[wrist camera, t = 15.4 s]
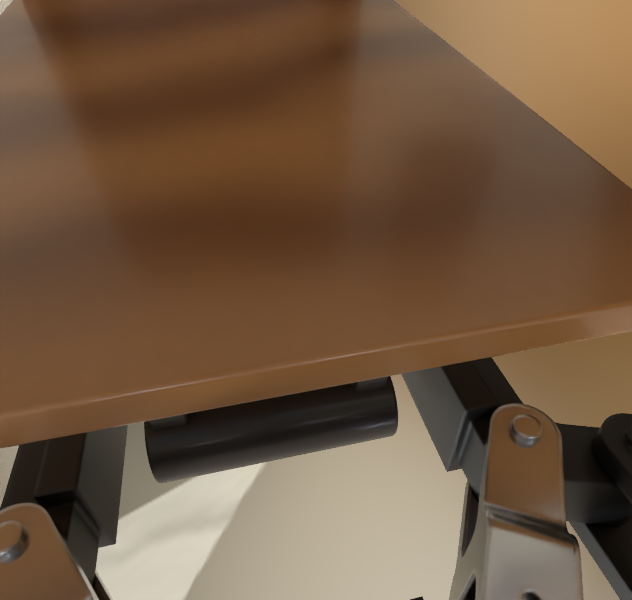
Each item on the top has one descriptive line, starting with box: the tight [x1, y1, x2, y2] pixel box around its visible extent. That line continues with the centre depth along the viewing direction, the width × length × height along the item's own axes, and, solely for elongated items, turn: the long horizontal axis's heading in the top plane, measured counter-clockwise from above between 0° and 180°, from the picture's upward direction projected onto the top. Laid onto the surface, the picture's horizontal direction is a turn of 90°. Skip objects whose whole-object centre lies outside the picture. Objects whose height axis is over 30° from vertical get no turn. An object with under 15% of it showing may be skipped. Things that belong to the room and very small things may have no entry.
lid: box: [0, 0, 632, 483], centre depth 14 cm, size 19×14×5 cm
